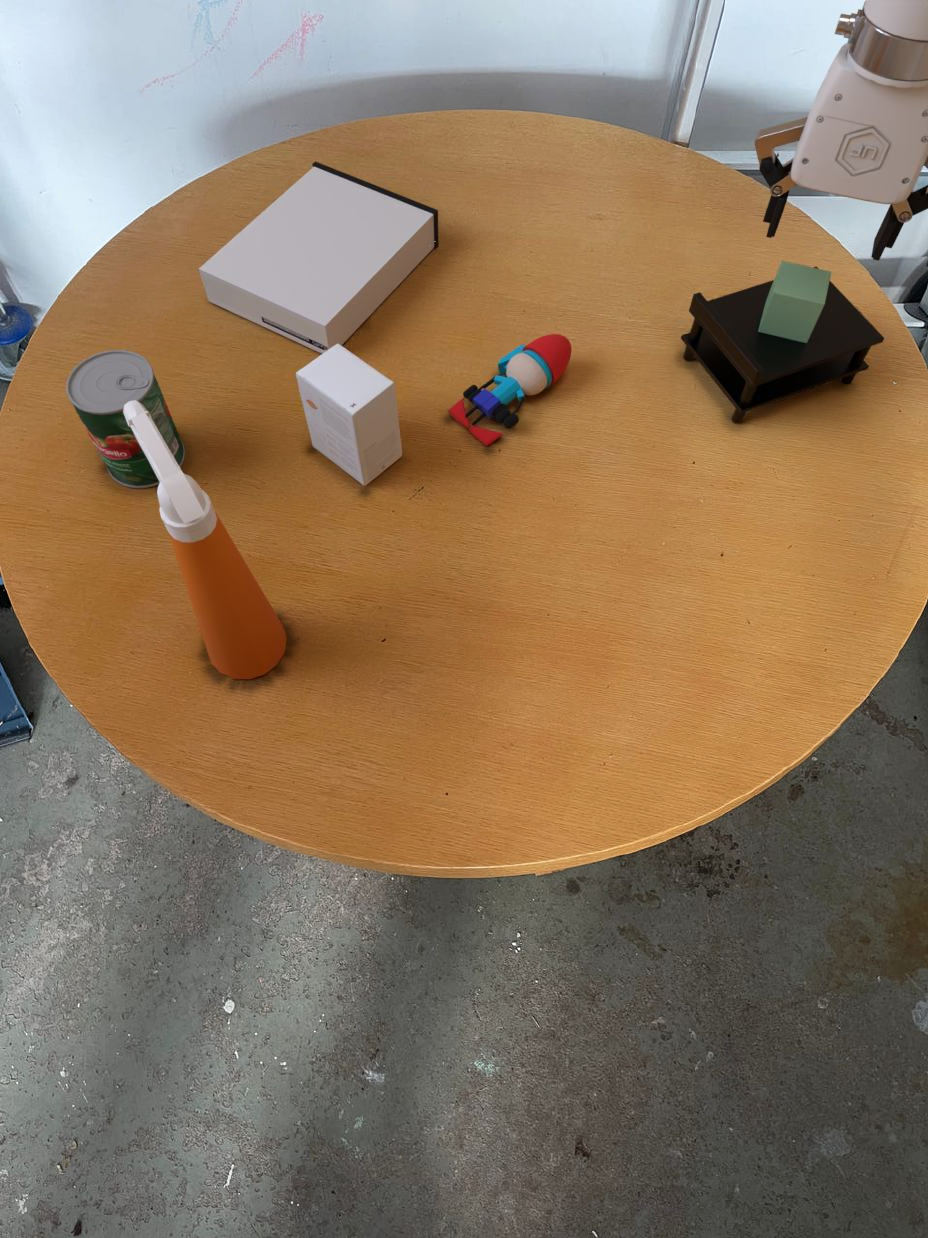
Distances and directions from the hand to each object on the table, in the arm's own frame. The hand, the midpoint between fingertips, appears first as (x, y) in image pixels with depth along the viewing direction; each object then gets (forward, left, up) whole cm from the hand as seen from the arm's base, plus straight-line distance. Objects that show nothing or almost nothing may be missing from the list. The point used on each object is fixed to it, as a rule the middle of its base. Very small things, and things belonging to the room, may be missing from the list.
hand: (823, 239), depth 81 cm
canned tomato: (+58, +34, -17) cm, 69 cm away
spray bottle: (+40, +49, -17) cm, 65 cm away
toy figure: (+25, +13, -17) cm, 33 cm away
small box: (+38, +26, -17) cm, 49 cm away
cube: (0, 0, -10) cm, 10 cm away
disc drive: (+52, +2, -17) cm, 55 cm away
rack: (0, 0, -17) cm, 17 cm away
